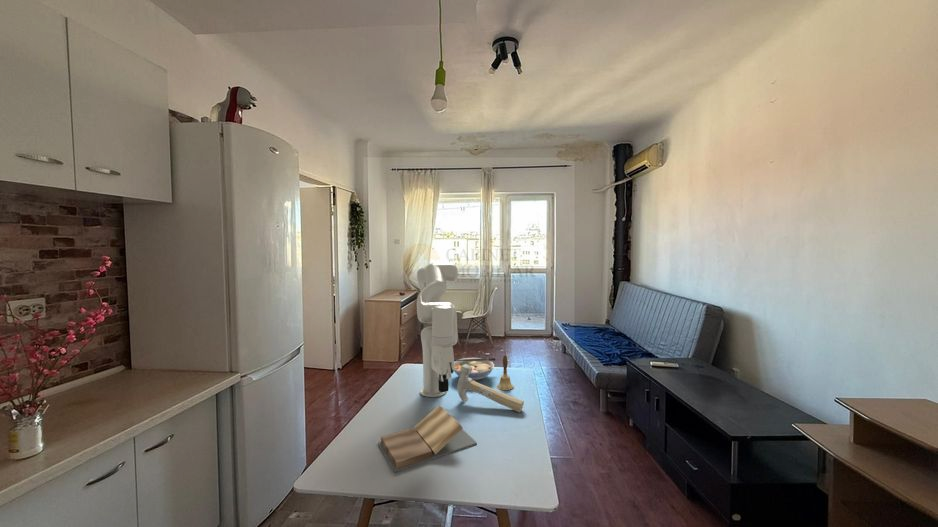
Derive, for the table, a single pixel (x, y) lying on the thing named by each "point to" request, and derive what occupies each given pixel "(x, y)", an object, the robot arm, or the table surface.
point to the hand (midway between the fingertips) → (443, 390)
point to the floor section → (417, 448)
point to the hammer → (485, 391)
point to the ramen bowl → (475, 367)
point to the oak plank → (438, 428)
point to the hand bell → (505, 377)
